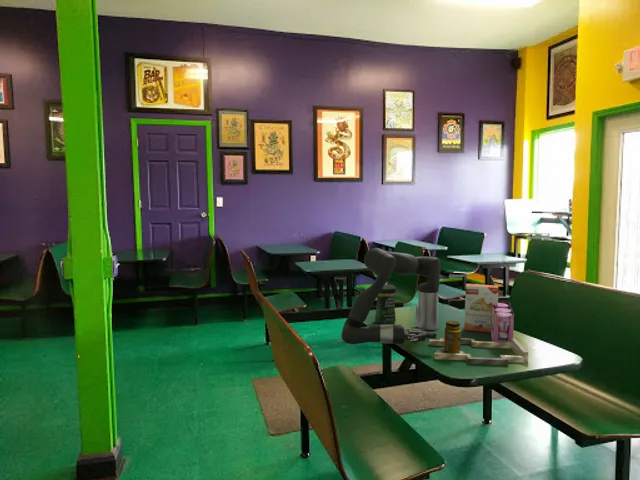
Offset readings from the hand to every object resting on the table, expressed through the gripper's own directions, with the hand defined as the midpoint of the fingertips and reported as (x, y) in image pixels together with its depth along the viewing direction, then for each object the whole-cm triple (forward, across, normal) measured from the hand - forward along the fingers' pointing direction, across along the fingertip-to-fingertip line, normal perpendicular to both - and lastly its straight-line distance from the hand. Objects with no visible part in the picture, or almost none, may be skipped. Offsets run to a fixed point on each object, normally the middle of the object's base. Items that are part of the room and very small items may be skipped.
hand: (436, 335), depth 177 cm
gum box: (+30, +20, +7) cm, 37 cm away
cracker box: (+24, +31, +7) cm, 40 cm away
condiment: (+6, 0, +7) cm, 9 cm away
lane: (+15, 0, +7) cm, 17 cm away
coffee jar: (-19, +39, +7) cm, 44 cm away
